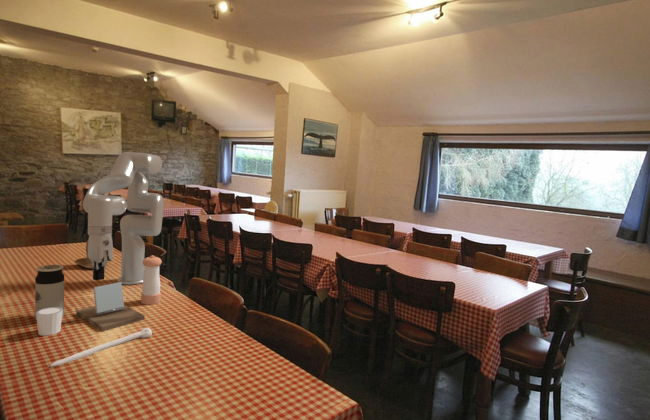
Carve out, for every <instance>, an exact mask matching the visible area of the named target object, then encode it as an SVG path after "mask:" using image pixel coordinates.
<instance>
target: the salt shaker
mask: <svg viewBox="0 0 650 420" xmlns="http://www.w3.org/2000/svg"><path fill="white" fill-rule="evenodd" d="M162 263H163V261H162V258H160V257H158V256H155V255H150V256H148V257H144V260H143V265H144V280H143V283H142V290H141V291H142V292H141V293H140V303H141V304H142V305H155V304H159V303H160V302H161V300H162V296H161V295H162V292H161V279H160V266H161V264H162Z"/></svg>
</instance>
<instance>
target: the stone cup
mask: <svg viewBox="0 0 650 420" xmlns="http://www.w3.org/2000/svg"><path fill="white" fill-rule="evenodd" d="M88 240H89V238H88V239H87V240H86V244H85V252H86V257H81V258H78V259H75V260H74V263H75V264H77V265H79V266H81V267H84V268H87V269H93V263H92V262H91V259H89V258H88Z"/></svg>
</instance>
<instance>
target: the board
mask: <svg viewBox="0 0 650 420" xmlns="http://www.w3.org/2000/svg"><path fill="white" fill-rule="evenodd" d="M75 313H76V316H77V317H79V318H81V319H82V320H84V321H86V322H88V324H91V325H92V326H94V327H95V328H97V329H98V330H99V331H101V332H105V331H109V330H112V329H116V328H120V327H123V326H126V325H129V324H132V323H137V322H140V321H144V320H145V314H142V313H141V312H140V311H137V310H135V309H133V308H131V307H129V306H127V305H125V304H124V310H120V311H116V312H112V313H108V314H104V315H100V316H96V308H95V305H94V306H90V307H87V308H82V309H78V310H76V312H75Z"/></svg>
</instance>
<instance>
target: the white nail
mask: <svg viewBox="0 0 650 420" xmlns="http://www.w3.org/2000/svg"><path fill="white" fill-rule="evenodd" d="M152 335H153V332H152V330H151V328H149V327H143V328H142V329H141V330H140V331H137V332H134V333H132V334H129V335H125V336H122V337H121V338H117V339H114V340H111V341H109V342H105V343H102V344H100V345H99V344H98V345H97V346H93V347H91V348H89V349H86V350H83V351H79V352H78V353H75V354H72V355H68V356H67V357H65V358H62V359H59V360H56V361H54V362H52V363H51V364H50V365H49V366H50V367H51V368H52V367H54V368H55V367H58V366H60V365H65V364H67V363H70V362H73V361H76V360H80V359H83V358H84V357H87V356H90V355H94V354H96V353H98V352H100V351H105V350H106V349H110V348H112V347H115V346H118V345H120V344H124V343H127V342H130V341H133V340H134V339H138V338H142V339H144V338H149V337H151V336H152Z"/></svg>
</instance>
